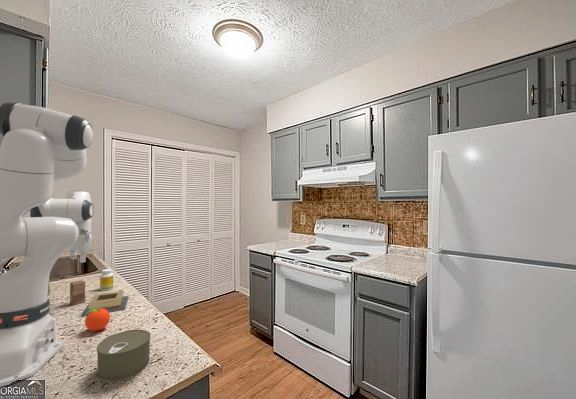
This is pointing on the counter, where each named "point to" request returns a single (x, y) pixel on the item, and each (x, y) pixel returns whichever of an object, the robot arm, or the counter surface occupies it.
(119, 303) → the collar
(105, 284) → the supplement bottle
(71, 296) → the peg
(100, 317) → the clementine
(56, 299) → the counter surface
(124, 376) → the can
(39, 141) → the robot arm
